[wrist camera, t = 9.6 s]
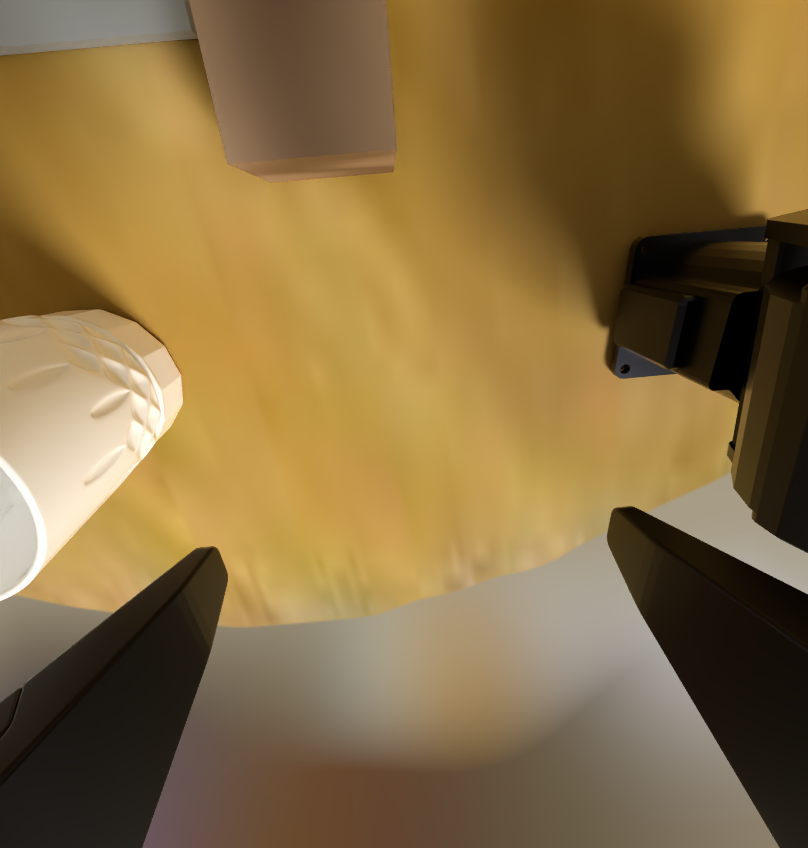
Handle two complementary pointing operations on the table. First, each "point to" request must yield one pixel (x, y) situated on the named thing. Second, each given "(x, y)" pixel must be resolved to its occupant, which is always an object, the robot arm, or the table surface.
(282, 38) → the letter cube
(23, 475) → the white cup
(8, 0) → the grey mat
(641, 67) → the table surface
